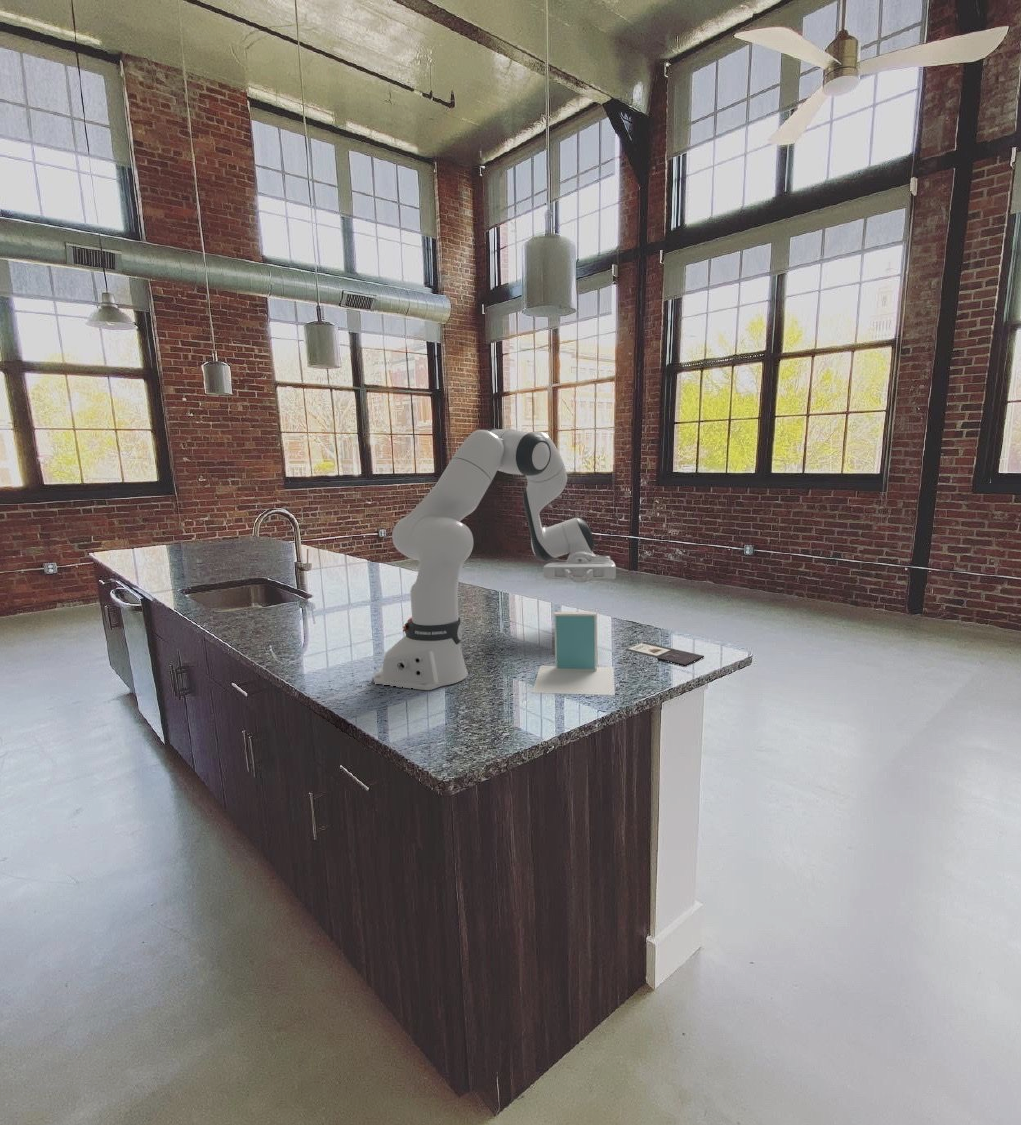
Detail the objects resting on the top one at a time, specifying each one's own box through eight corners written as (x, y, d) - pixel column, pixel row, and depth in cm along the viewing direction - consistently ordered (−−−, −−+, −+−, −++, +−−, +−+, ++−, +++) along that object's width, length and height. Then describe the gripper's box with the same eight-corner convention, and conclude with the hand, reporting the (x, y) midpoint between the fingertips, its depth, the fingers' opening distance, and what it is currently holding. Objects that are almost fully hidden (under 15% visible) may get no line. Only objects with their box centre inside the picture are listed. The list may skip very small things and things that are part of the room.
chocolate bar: (685, 664, 146) (624, 649, 159) (685, 668, 146) (624, 653, 159) (704, 655, 152) (644, 642, 165) (704, 659, 152) (644, 645, 165)
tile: (555, 670, 145) (554, 614, 143) (556, 667, 147) (554, 612, 145) (596, 671, 144) (596, 614, 141) (597, 668, 146) (596, 612, 144)
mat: (531, 694, 132) (531, 692, 131) (540, 667, 149) (540, 665, 149) (614, 697, 129) (614, 695, 129) (613, 669, 146) (613, 667, 146)
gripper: (544, 556, 176) (539, 564, 162) (615, 556, 173) (616, 564, 159) (545, 577, 177) (540, 587, 163) (615, 577, 174) (616, 587, 160)
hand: (578, 575), depth 161 cm, fingers open, 3 cm apart
